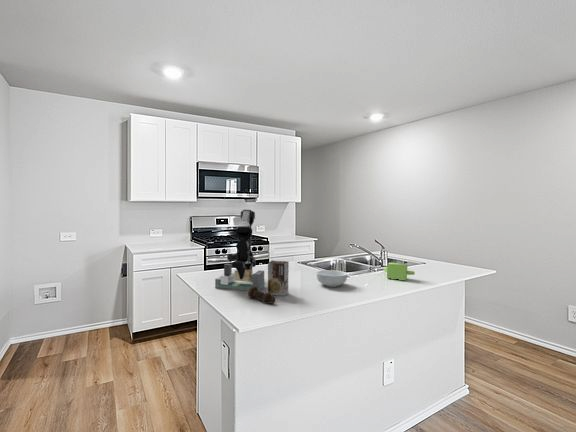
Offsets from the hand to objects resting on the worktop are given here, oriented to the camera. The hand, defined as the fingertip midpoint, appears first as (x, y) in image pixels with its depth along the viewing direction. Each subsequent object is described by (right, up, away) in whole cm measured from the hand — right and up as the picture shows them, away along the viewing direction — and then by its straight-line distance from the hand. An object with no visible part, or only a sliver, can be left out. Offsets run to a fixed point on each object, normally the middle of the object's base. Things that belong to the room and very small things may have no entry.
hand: (243, 277), depth 174 cm
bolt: (+12, -7, -23) cm, 27 cm away
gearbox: (+92, -6, +26) cm, 95 cm away
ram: (-9, -3, +2) cm, 10 cm away
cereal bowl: (+48, -6, +8) cm, 49 cm away
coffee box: (+19, -6, -11) cm, 23 cm away
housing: (0, -1, 0) cm, 1 cm away
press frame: (-2, -5, +1) cm, 5 cm away
